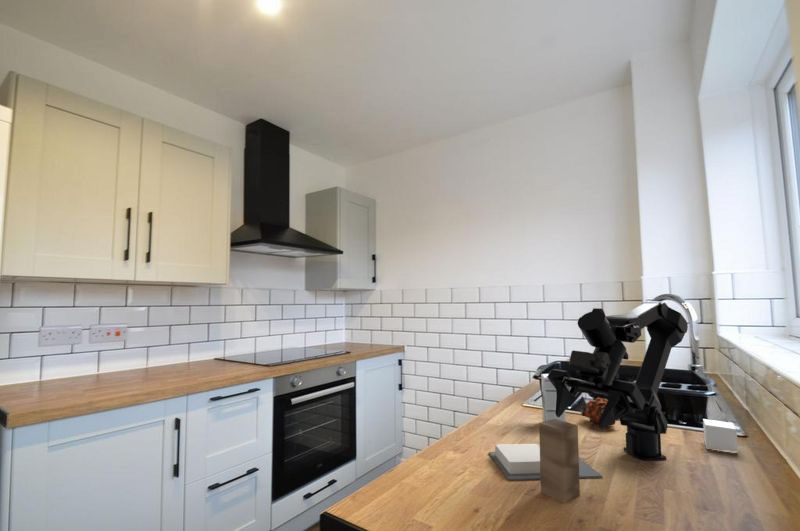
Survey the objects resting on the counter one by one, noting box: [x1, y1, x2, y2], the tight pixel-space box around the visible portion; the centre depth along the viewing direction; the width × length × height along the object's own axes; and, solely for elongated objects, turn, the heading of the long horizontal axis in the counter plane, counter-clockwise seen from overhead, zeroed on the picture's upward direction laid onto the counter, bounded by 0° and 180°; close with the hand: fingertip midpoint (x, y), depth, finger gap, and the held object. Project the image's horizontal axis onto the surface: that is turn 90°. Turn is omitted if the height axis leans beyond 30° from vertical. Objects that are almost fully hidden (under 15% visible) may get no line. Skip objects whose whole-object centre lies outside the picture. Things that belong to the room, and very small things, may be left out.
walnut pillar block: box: [538, 419, 581, 504], centre depth 76 cm, size 5×5×13 cm
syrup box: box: [540, 373, 567, 422], centre depth 116 cm, size 6×6×14 cm
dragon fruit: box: [580, 397, 620, 429], centre depth 117 cm, size 8×8×12 cm
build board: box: [488, 443, 603, 481], centre depth 89 cm, size 20×14×3 cm
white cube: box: [702, 418, 739, 453], centre depth 99 cm, size 6×6×6 cm
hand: (577, 421), depth 80 cm, fingers open, 9 cm apart
